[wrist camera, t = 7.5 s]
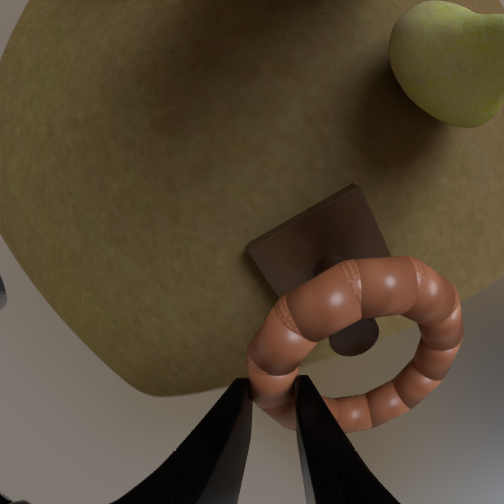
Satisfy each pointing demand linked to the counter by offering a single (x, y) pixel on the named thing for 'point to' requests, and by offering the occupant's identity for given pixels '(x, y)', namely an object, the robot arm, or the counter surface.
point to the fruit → (450, 61)
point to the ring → (344, 314)
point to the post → (323, 254)
